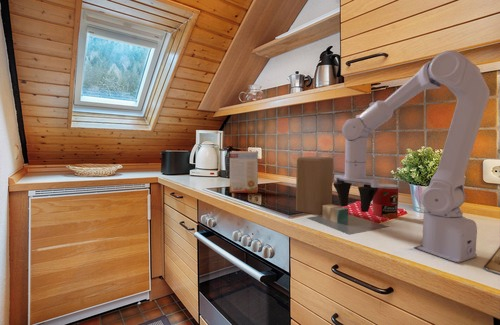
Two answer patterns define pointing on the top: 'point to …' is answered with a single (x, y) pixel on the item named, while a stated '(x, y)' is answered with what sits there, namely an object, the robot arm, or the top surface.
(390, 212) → the canned food
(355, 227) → the slate board
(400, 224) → the top surface
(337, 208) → the beech block
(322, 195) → the block
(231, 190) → the cracker box
